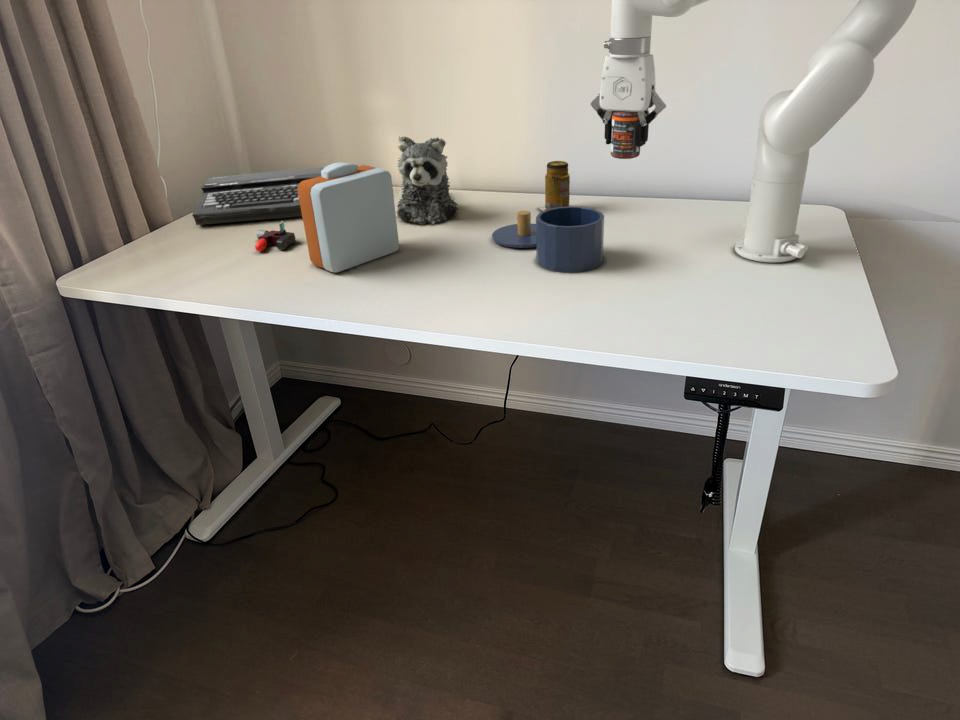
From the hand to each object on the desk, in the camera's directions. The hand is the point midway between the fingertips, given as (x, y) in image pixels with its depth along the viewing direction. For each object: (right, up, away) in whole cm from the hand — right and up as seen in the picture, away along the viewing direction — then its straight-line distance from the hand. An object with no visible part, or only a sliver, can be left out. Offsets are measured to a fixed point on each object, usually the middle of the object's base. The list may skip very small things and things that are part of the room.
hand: (625, 143), depth 141 cm
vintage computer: (-84, -1, +52) cm, 98 cm away
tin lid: (-19, -16, +18) cm, 31 cm away
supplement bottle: (0, -2, +1) cm, 3 cm away
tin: (-11, -23, +5) cm, 26 cm away
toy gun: (-79, -17, +23) cm, 85 cm away
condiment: (-10, -7, +35) cm, 37 cm away
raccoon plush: (-44, -5, +41) cm, 61 cm away
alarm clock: (-57, -22, +13) cm, 62 cm away
